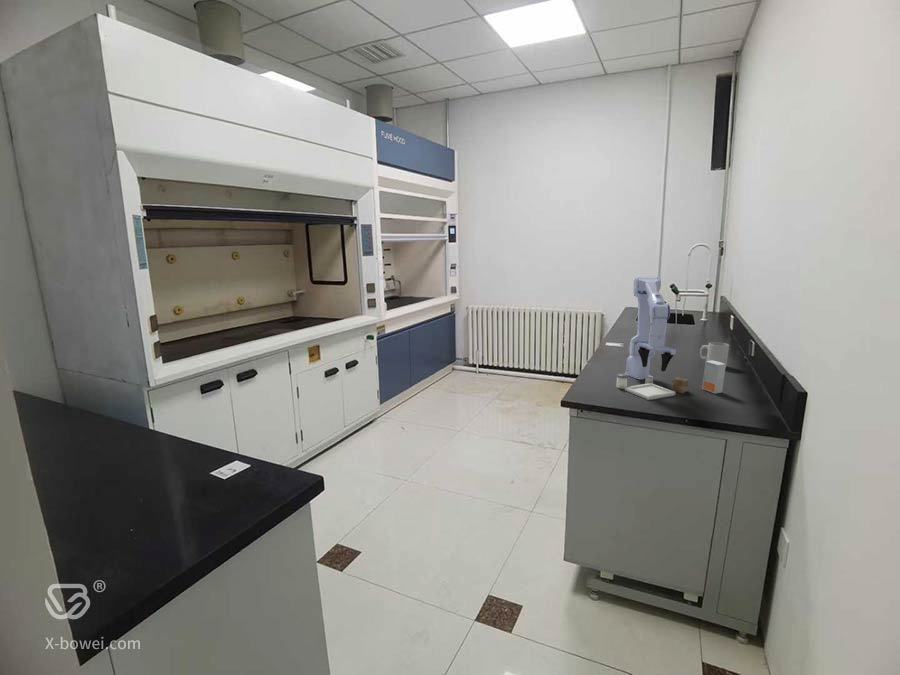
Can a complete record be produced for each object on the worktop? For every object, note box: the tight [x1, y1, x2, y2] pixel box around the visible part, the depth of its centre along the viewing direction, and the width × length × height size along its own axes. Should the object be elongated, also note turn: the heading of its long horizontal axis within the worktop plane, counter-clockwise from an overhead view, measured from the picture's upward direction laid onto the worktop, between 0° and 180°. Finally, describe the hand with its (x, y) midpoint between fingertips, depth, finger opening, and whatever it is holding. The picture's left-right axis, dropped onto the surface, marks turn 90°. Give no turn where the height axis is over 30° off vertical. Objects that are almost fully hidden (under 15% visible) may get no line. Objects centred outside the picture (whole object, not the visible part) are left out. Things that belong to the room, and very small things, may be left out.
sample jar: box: [615, 373, 629, 390], centre depth 184 cm, size 4×4×5 cm
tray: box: [624, 383, 676, 401], centre depth 177 cm, size 12×14×1 cm
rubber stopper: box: [644, 377, 654, 384], centre depth 187 cm, size 3×3×3 cm
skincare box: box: [701, 360, 727, 394], centre depth 178 cm, size 6×4×12 cm
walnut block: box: [671, 376, 689, 394], centre depth 179 cm, size 4×4×5 cm
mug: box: [699, 341, 730, 369], centre depth 214 cm, size 12×8×11 cm
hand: (653, 368), depth 175 cm, fingers open, 7 cm apart
